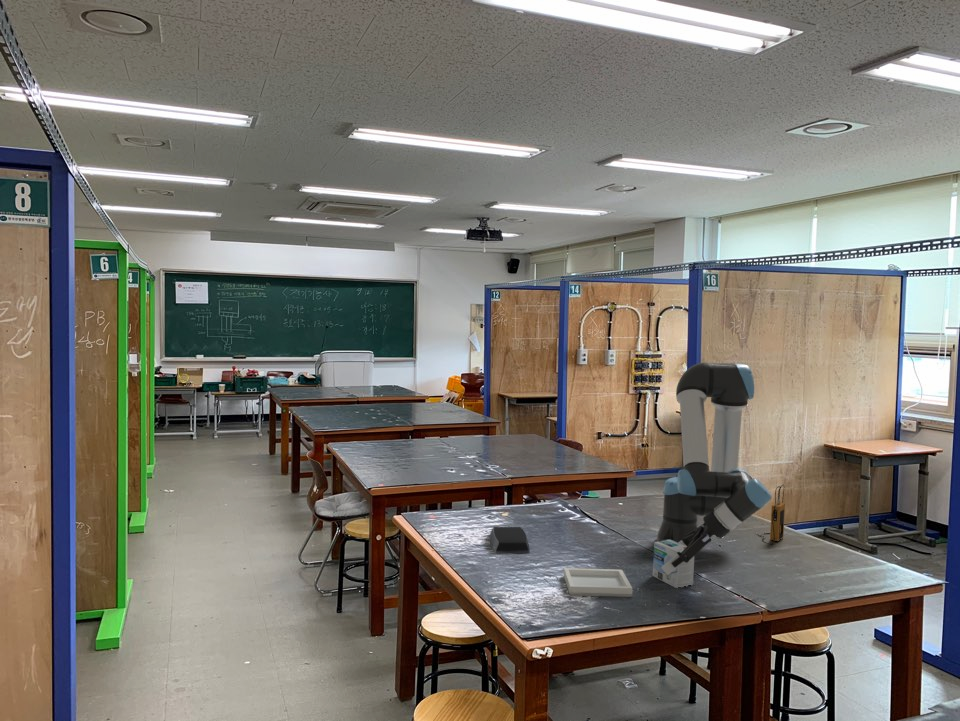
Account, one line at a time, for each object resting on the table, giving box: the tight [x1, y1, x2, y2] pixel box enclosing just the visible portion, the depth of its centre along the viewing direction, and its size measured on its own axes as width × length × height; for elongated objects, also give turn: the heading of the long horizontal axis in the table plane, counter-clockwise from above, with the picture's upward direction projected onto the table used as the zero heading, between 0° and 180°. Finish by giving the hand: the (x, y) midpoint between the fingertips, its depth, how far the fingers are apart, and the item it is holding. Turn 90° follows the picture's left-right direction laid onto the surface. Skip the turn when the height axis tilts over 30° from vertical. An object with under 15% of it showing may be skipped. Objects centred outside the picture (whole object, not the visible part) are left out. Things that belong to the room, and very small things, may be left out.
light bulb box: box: [652, 540, 695, 589], centre depth 199 cm, size 11×7×11 cm, turn 27°
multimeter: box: [756, 484, 786, 544], centre depth 244 cm, size 15×10×20 cm
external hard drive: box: [489, 526, 531, 554], centre depth 230 cm, size 13×19×4 cm
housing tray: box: [563, 567, 634, 598], centre depth 193 cm, size 14×17×2 cm
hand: (666, 563), depth 200 cm, fingers open, 13 cm apart
